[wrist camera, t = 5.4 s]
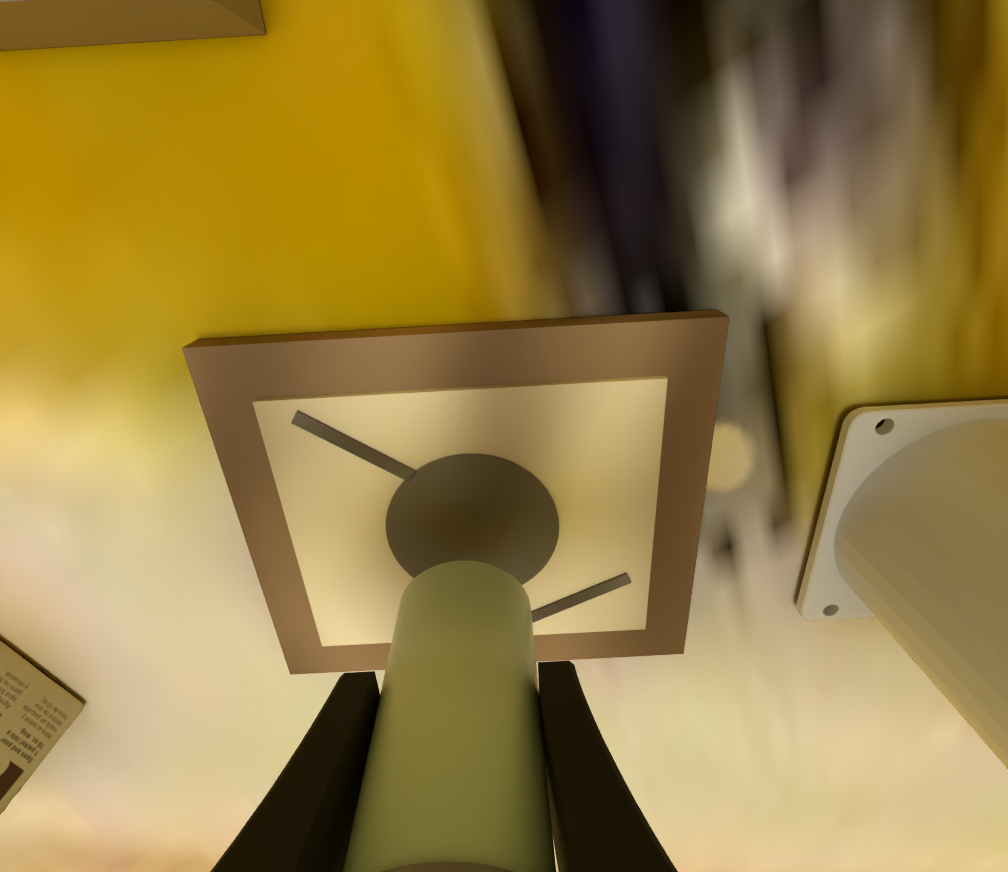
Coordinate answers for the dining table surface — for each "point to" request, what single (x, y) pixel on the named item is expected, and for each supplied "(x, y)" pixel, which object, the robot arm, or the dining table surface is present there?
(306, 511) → the brown picture frame
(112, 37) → the button housing
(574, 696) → the robot arm
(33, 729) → the coffee box
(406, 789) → the marker
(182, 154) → the dining table surface
